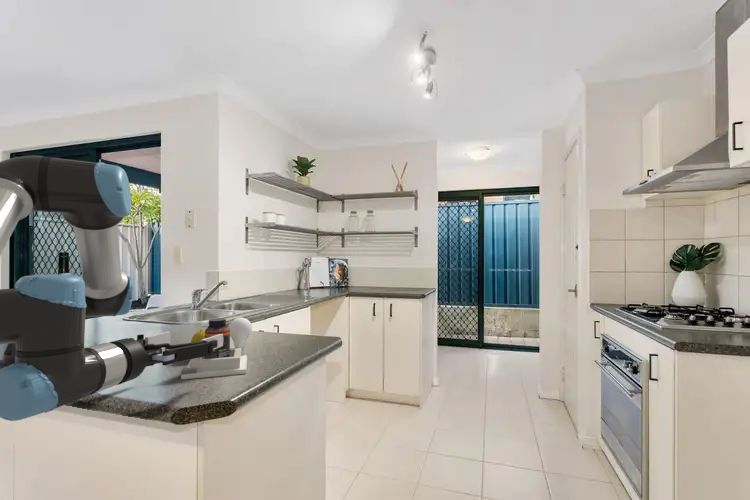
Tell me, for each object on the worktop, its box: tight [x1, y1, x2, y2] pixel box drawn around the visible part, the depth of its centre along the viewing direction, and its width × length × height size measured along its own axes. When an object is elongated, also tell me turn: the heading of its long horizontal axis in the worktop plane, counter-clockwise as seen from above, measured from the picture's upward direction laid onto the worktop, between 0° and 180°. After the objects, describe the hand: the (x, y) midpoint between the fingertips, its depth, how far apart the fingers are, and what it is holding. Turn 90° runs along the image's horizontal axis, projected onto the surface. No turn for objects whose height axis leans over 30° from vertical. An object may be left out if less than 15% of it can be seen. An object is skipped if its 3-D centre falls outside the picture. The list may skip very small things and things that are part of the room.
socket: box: [180, 347, 248, 380], centre depth 91 cm, size 14×14×4 cm
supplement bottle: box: [204, 317, 231, 359], centre depth 91 cm, size 6×6×11 cm
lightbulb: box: [228, 317, 253, 356], centre depth 102 cm, size 6×6×11 cm
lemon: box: [190, 329, 205, 343], centre depth 100 cm, size 6×6×8 cm
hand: (195, 338), depth 83 cm, fingers open, 13 cm apart
